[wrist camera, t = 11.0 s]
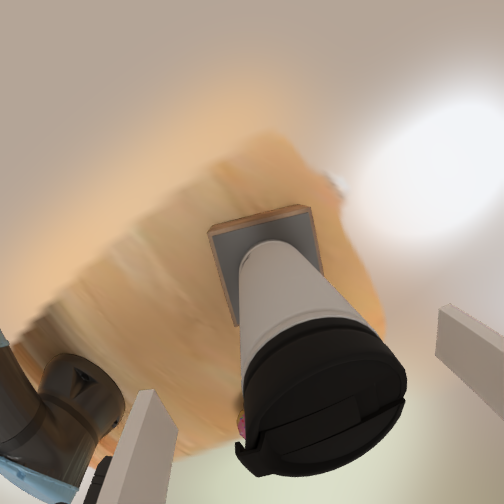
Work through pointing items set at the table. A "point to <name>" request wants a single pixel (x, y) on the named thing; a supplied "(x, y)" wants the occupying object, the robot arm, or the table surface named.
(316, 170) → the table surface
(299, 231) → the walnut stand
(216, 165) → the table surface
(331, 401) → the travel mug
